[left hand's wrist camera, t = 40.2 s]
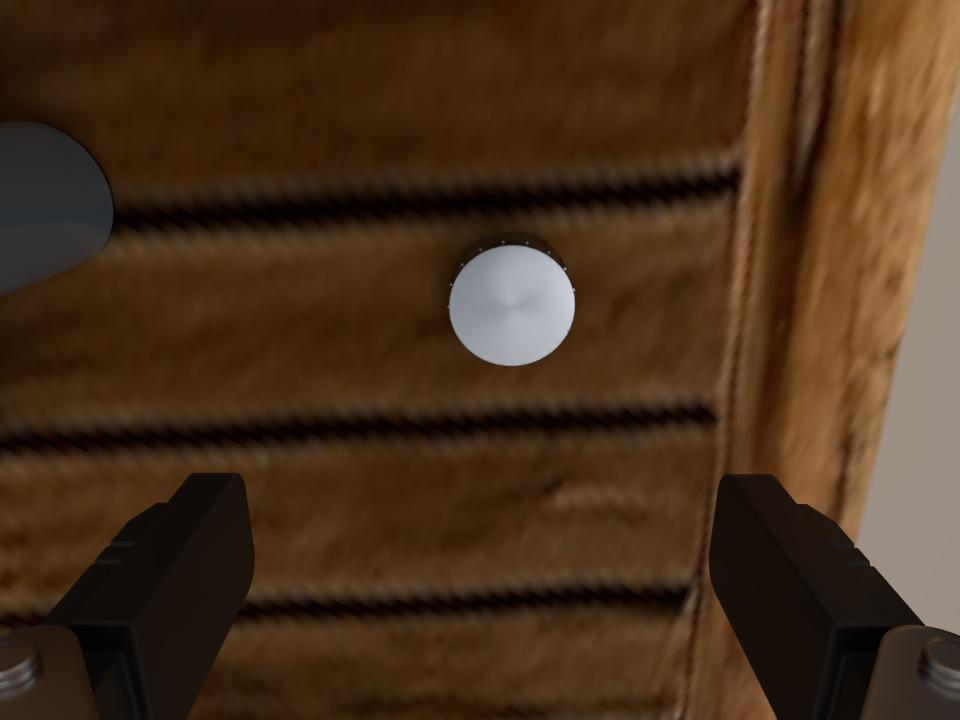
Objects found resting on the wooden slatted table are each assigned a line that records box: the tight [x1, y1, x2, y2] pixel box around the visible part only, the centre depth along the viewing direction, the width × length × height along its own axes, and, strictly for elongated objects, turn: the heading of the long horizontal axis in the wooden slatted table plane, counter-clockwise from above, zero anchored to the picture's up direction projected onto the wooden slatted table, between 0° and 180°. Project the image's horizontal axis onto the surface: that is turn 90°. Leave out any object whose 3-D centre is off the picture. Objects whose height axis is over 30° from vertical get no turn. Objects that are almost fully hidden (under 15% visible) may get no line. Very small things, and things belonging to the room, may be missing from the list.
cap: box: [448, 232, 575, 366], centre depth 23 cm, size 4×4×2 cm
